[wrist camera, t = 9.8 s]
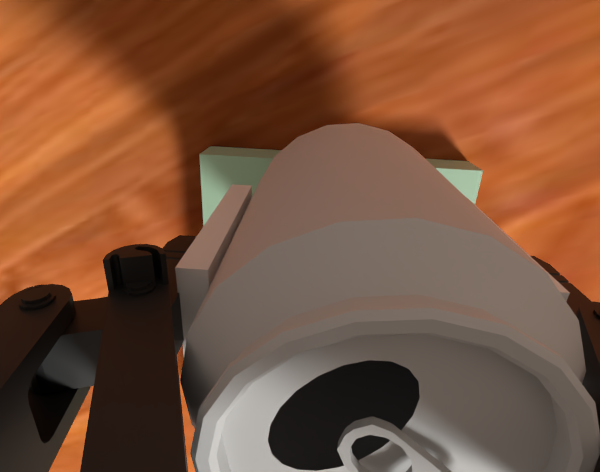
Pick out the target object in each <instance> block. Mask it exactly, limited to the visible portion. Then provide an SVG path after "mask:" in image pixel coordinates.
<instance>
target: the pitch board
mask: <svg viewBox="0 0 600 472" xmlns="http://www.w3.org/2000/svg"><path fill="white" fill-rule="evenodd" d="M280 151H282V150H270V149H253V148H235V147H218V146H210V147H209V148H207V149H206V150H204V151H203V152H202V153H200V154H199V156H200V174H201V192H202V210H203V226H204V225H205V223H206V222H207V220H208V219H209V218H210V216H211V215H212V213H213V212H214V210H215V209H216V207H217V206H218V204H219V203H220V201H221V200H222V199H223V197H224V196H225V194H226V193H227V191H228V190H229V188H230V187H231V185H232V184H234V185H251V186H252V196H253V194H254V192H255V190H256V188H257V186H258V184H259V182H260V180H261V178H262V177H263V175H264V173H265V172H266V170H267V168H268V167H269V165H270V163H271V161H272V160H273V158H274V157H275V156H276V155H277V154H278V153H279V152H280ZM426 160H427V161H428V162H429V163H430V164H431V165H433V166H434V167H435V168H436V169H437V170H438V171H439V172H440V173H441V174H442V175H443V176H444V177H445V178H446V179H447V180H448V181H450V182H451V183H452V184H453V185H454V186H455V187H456V188H457V189H458V190H459V191H460V192H461V193H462V194H463V195H464V196H465V197H467V198H468V199H469V200H470V201H471V202H472V203H474V204H475V202H476V198H477V194H478V190H479V186H480V182H481V177H482V173H483V170H481V169H479V168H478V167H476V166H475V165H473V164H472V163H470V162H469V161H458V160H441V159H426Z"/></svg>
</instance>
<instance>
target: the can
mask: <svg viewBox="0 0 600 472" xmlns="http://www.w3.org/2000/svg"><path fill="white" fill-rule="evenodd" d="M585 373H586V366H585V359H584V352H583V346H582V339H581V332H580V325H579V320H578V318H577V317H576V315H575V314H574V313H573V311H572V310H571V308H570V307H569V305H568V304H567V302H566V301H565V299H564V298H563V296H562V295H561V293H560V292H559V290H558V289H557V287H556V286H555V284H554V283H553V282H552V280H551V279H550V277H549V276H548V274H547V273H546V272H545V271H544V270H543V269H542V268H541V267H540V266H539V265H538V264H537V263H536V262H535V261H534V260H532V259H531V258H530V257H529V256H528V255H527V254H526V253H525V252H524V251H523V250H522V249H521V248H520V247H519V246H518V245H517V244H515V243H514V242H513V241H512V240H511V239H510V238H509V237H508V236H507V235H506V234H505V233H504V232H503V231H502V230H501V229H500V228H498V227H497V226H496V225H495V224H494V223H493V222H492V221H491V220H490V219H489V218H488V217H487V216H486V215H485V214H484V213H482V212H481V211H480V210H479V209H478V208H477V207H476V206H475V205H474V204H473V203H472V202H471V201H470V200H469V199H468V198H467V197H465V196H464V195H463V194H462V193H461V192H460V191H459V190H458V189H457V188H456V187H455V186H454V185H453V184H452V183H451V182H450V181H448V180H447V179H446V178H445V177H444V176H443V175H442V174H441V173H440V172H439V171H438V170H437V169H436V168H435V167H434V166H433V165H431V164H430V163H429V162H428V161H427V160H426V159H425V158H424V157H423V156H422V155H421V154H420V153H419V152H418V151H417V150H415V149H414V148H413V147H412V146H410V145H409V144H407V143H406V142H404V141H403V140H401V139H400V138H398V137H397V136H395V135H394V134H392V133H391V132H390V131H387V130H383V129H380V128H376V127H372V126H368V125H364V124H360V123H350V124H335V125H326V126H323V127H321V128H318V129H316V130H313V131H311V132H308V133H306V134H304V135H301V136H299V137H297V138H296V139H294V140H293V141H292V142H291V143H290V144H289V145H287V146H286V147H285V148H284V149H283V150H282V151H280V152H279V153H278V154H277V155H276V156H275V157H274V158H273V160H272V161H271V163H270V165H269V167H268V168H267V170H266V172H265V173H264V175H263V177H262V178H261V180H260V182H259V184H258V186H257V188H256V190H255V192H254V194H253V196H252V199H251V201H250V203H249V205H248V207H247V209H246V211H245V213H244V215H243V218H242V220H241V222H240V224H239V226H238V228H237V230H236V232H235V234H234V237H233V239H232V241H231V243H230V245H229V247H228V249H227V251H226V253H225V256H224V258H223V260H222V262H221V264H220V266H219V268H218V270H217V272H216V275H215V277H214V279H213V281H212V283H211V285H210V287H209V289H208V291H207V293H206V296H205V298H204V300H203V302H202V304H201V306H200V308H199V310H198V312H197V315H196V317H195V319H194V321H193V323H192V325H191V327H190V329H189V331H188V334H187V341H186V347H185V354H184V361H183V367H182V374H181V380H180V381H181V385H182V389H183V392H184V396H185V400H186V404H187V408H188V411H189V415H190V419H191V423H192V425H193V426H194V428H195V432H194V437H193V443H192V448H191V457H192V460H193V464H194V467H195V471H196V472H594V469H595V466H596V463H597V461H598V458H599V455H600V432H599V424H598V417H597V410H596V403H595V401H594V400H593V399H592V397H591V396H590V394H589V393H588V392H587V390H586V389H585V388H584V386H583V385H582V383H583V380H584V377H585Z"/></svg>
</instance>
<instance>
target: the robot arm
mask: <svg viewBox="0 0 600 472" xmlns="http://www.w3.org/2000/svg"><path fill="white" fill-rule="evenodd" d="M251 199H252V186H251V185H234V184H232V185H231V187H230V188H229V190H228V191H227V193H226V194H225V196H224V197H223V199H222V200H221V201H220V203H219V204H218V206H217V207H216V209H215V210H214V212H213V213H212V215H211V216H210V218H209V219H208V220H207V222H206V223H205V225H204V226H203V228H202V229H201V231H200V232H199V234H198V235H197V236H182V235H180V236H178V237H176V238H174V239H172V240H171V241H169V242H167V244H166V245H165V246H164V247H163V249H162V248H160V247H158V246H155V245H149V244H135V245H129V246H124V247H121V248H118V249H115V250H113V251H112V252H110V253H108V254H107V255H106V256H105V258H104V259H103V263H104V269H105V274H106V280H107V285H108V291H109V293H108V297H103V298H98V299H90V300H81V301H73V297H72V293H71V291H70V289H69V288H67V287H65V286H63V285H55V284H49V285H37V286H34V287H33V286H32V287H29V288H26V289H24V290H22V291H20V292H18V293H16V294H14V295H12V296H11V297H9V298H8V299H7V300H5V301H4V302H3V303H2V304H1V305H0V472H48V471H49V469H50V467H51V465H52V463H53V461H54V459H55V457H56V455H57V453H58V451H59V449H60V447H61V445H62V443H63V441H64V439H65V437H66V435H67V433H68V431H69V429H70V427H71V425H72V423H73V421H74V419H75V417H76V415H77V413H78V411H79V409H80V407H81V405H82V403H83V401H84V399H85V397H86V395H87V393H88V391H89V389H90V386H93V385H94V388H93V394H92V401H91V407H90V413H89V420H88V426H87V432H86V439H85V445H84V451H83V457H82V464H81V470H80V472H188V467H187V457H186V446H185V436H184V426H183V416H182V405H181V395H180V385H179V375H178V365H177V354H178V351H179V349H180V347H181V345H182V343H183V354H185V347H186V341H187V334H188V331H189V329H190V327H191V325H192V323H193V321H194V319H195V317H196V315H197V312H198V310H199V308H200V306H201V304H202V302H203V300H204V298H205V296H206V293H207V291H208V289H209V287H210V285H211V283H212V281H213V279H214V277H215V275H216V272H217V270H218V268H219V266H220V264H221V262H222V260H223V258H224V256H225V253H226V251H227V249H228V247H229V245H230V243H231V241H232V239H233V237H234V234H235V232H236V230H237V228H238V226H239V224H240V222H241V220H242V218H243V215H244V213H245V211H246V209H247V207H248V205H249V203H250V201H251ZM473 204H474V203H473ZM474 205H475V204H474ZM475 206H476V205H475ZM476 207H477V206H476ZM477 208H478V207H477ZM478 209H479V208H478ZM479 210H480V209H479ZM480 211H481V210H480ZM481 212H482V211H481ZM482 213H483V212H482ZM487 217H488V216H487ZM488 218H489V217H488ZM489 219H490V218H489ZM490 220H491V219H490ZM491 221H492V220H491ZM492 222H493V221H492ZM493 223H494V222H493ZM494 224H495V223H494ZM495 225H496V224H495ZM496 226H497V225H496ZM497 227H498V226H497ZM498 228H499V227H498ZM500 229H501V228H500ZM501 230H502V229H501ZM502 231H503V230H502ZM503 232H504V231H503ZM504 233H505V232H504ZM505 234H506V233H505ZM506 235H507V234H506ZM507 236H508V235H507ZM508 237H509V236H508ZM509 238H510V237H509ZM510 239H511V238H510ZM511 240H512V239H511ZM512 241H513V240H512ZM513 242H514V243H515V244H517V243H516V242H515V241H513ZM517 245H518V244H517ZM518 246H519V245H518ZM519 247H520V246H519ZM520 248H521V247H520ZM521 249H522V248H521ZM522 250H523V249H522ZM523 251H524V250H523ZM524 252H525V251H524ZM525 253H526V252H525ZM526 254H527V253H526ZM527 255H528V256H529V257H530V258H531V259H532V260H534V261H535V262H536V263H537V264H538V265H539V266H540V267H541V268H542V269H543V270H544V271H545V272H546V273H547V274H548V276H549V277H550V279H551V280H552V282H553V283H554V284H555V286H556V287H557V289H558V290H559V292H560V293H561V295H562V296H563V298H564V299H565V301H566V302H567V304H568V305H569V307H570V308H571V310H572V311H573V313H574V314H575V315H576V317H577V318H578V320H579V325H580V332H581V339H582V346H583V352H584V359H585V366H586V373H585V377H584V380H583V383H582V385H583V386H584V388H585V389H586V390H587V392H588V393H589V394H590V396H591V397H592V399H593V400H594V401H595V403H596V410H597V417H598V424H599V432H600V303H599V302H591V301H590V300H589V299H588V298H587V297H586V296H585V295H583V294H582V293H581V292H580V291H579V290H578V289H577V288H576V287H574V286H573V285H572V284H571V283H568V280H567V279H565V278H564V277H563V276H562V275H560V273H559V272H558V271H556V270H555V269H554V268H553V267H552V266H551V265H550V264H548V263H546V262H544V261H542V260H540V259H538V258H537V257H535V256H530V255H529V254H527ZM594 472H600V455H599V458H598V461H597V463H596V466H595V469H594Z"/></svg>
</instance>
